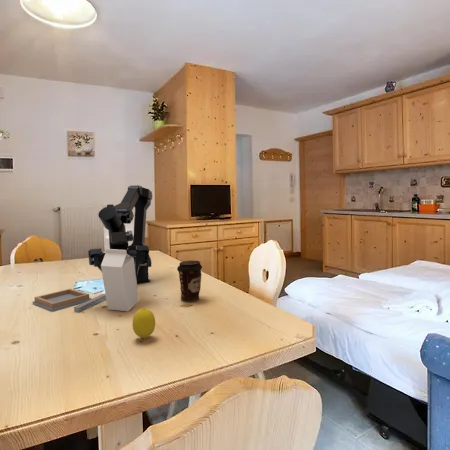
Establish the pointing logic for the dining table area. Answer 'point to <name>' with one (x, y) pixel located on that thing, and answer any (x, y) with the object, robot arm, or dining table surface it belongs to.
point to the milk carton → (119, 280)
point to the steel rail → (90, 303)
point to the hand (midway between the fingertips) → (121, 276)
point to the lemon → (143, 323)
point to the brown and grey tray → (61, 299)
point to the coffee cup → (190, 280)
